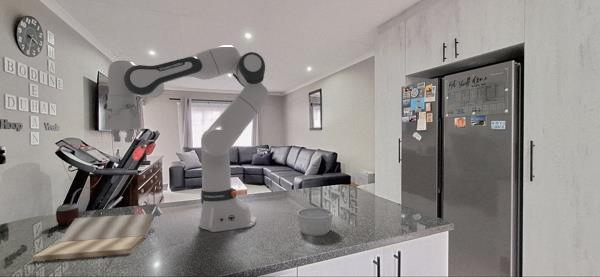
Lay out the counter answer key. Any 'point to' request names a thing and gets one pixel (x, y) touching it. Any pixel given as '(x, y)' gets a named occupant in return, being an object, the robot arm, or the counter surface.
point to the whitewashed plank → (108, 227)
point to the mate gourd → (67, 213)
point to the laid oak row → (89, 248)
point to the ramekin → (314, 221)
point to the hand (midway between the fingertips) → (122, 142)
